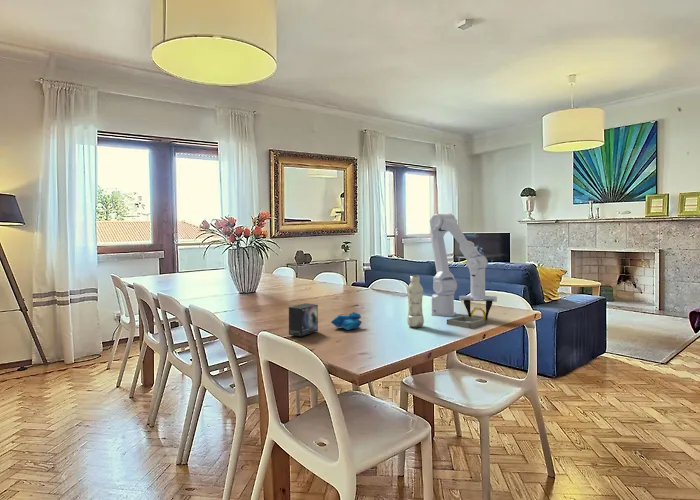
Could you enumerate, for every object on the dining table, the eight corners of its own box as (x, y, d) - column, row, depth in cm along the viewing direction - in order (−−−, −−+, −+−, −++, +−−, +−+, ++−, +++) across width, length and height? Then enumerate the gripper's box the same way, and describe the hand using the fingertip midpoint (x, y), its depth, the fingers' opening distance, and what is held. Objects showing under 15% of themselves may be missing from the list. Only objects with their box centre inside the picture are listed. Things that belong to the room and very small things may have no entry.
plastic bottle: (425, 325, 172) (424, 275, 172) (422, 329, 166) (421, 277, 165) (409, 325, 174) (408, 275, 174) (405, 328, 168) (404, 276, 167)
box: (470, 329, 164) (470, 323, 164) (446, 325, 172) (446, 319, 172) (485, 325, 171) (485, 319, 171) (462, 321, 179) (462, 315, 179)
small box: (301, 337, 158) (301, 308, 157) (288, 335, 161) (287, 306, 161) (319, 331, 167) (318, 304, 166) (305, 329, 170) (305, 302, 170)
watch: (483, 321, 179) (483, 306, 179) (486, 322, 176) (486, 308, 176) (469, 322, 178) (469, 307, 178) (472, 323, 175) (472, 308, 175)
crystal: (358, 306, 175) (330, 308, 171) (366, 318, 167) (336, 320, 163) (356, 322, 178) (328, 324, 174) (363, 334, 170) (334, 336, 166)
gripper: (458, 286, 175) (459, 320, 175) (496, 287, 171) (497, 321, 171) (459, 284, 182) (460, 316, 182) (496, 284, 177) (496, 318, 178)
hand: (478, 318), depth 177 cm, fingers closed on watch, 6 cm apart
